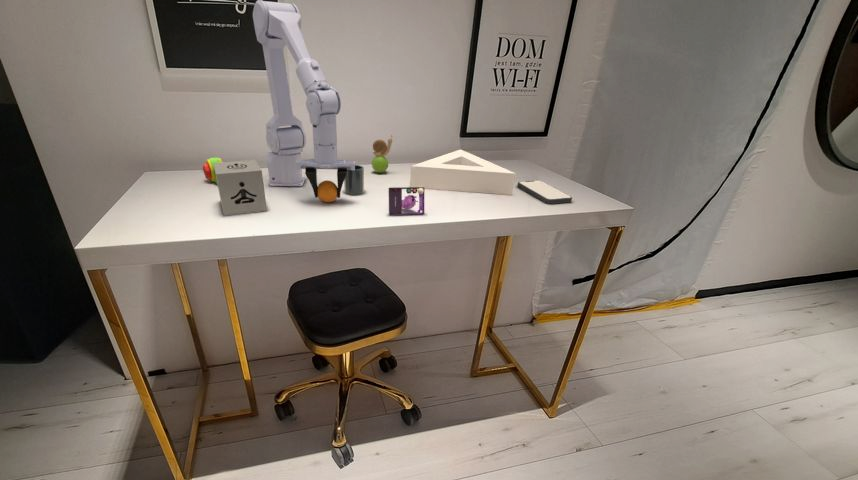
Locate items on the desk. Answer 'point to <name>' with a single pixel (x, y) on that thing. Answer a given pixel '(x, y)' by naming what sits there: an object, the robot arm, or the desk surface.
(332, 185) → the ball
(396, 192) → the purple product box
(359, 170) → the cup
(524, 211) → the desk surface
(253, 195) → the icon cube
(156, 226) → the desk surface
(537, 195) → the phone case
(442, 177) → the triangle block
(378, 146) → the snail figurine
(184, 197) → the desk surface
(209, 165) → the red green curved piece
